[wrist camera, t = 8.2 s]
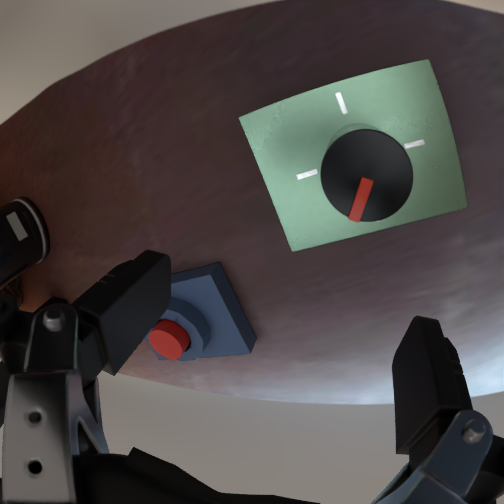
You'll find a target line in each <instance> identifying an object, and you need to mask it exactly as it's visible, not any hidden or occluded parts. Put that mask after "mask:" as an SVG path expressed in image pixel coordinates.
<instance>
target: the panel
mask: <svg viewBox="0 0 504 504" xmlns="http://www.w3.org/2000/svg"><path fill="white" fill-rule="evenodd" d="M238 119H239V121H240V123H241V126H242V128H243V130H244V133H245V135H246V138H247V140H248V142H249V145H250V147H251V150H252V152H253V155H254V157H255V159H256V162H257V164H258V167H259V169H260V172H261V174H262V177H263V179H264V182H265V184H266V187H267V189H268V192H269V194H270V197H271V199H272V202H273V204H274V207H275V210H276V212H277V215H278V217H279V220H280V222H281V225H282V228H283V230H284V233H285V236H286V238H287V241H288V243H289V246H290V249H291V251H292V252H295V251H299V250H304V249H308V248H312V247H316V246H320V245H324V244H328V243H332V242H336V241H339V240H343V239H347V238H351V237H355V236H359V235H363V234H367V233H371V232H375V231H379V230H383V229H387V228H391V227H395V226H398V225H402V224H406V223H410V222H414V221H418V220H422V219H426V218H429V217H433V216H437V215H441V214H445V213H449V212H452V211H456V210H460V209H464V208H467V207H468V206H467V199H466V193H465V187H464V181H463V176H462V170H461V165H460V161H459V156H458V152H457V147H456V143H455V139H454V135H453V131H452V127H451V124H450V120H449V117H448V113H447V110H446V107H445V103H444V100H443V97H442V94H441V91H440V88H439V85H438V82H437V79H436V77H435V74H434V71H433V69H432V66H431V63H430V61H429V59H423V60H418V61H414V62H409V63H404V64H400V65H396V66H391V67H387V68H383V69H379V70H375V71H371V72H368V73H364V74H360V75H357V76H353V77H350V78H346V79H343V80H340V81H336V82H333V83H330V84H327V85H324V86H321V87H317V88H314V89H311V90H308V91H306V92H303V93H300V94H297V95H294V96H291V97H289V98H286V99H283V100H280V101H278V102H275V103H272V104H270V105H267V106H265V107H262V108H260V109H257V110H255V111H252V112H250V113H247V114H245V115H243V116H240V117H238ZM355 123H363V124H368V125H372V126H374V127H376V128H378V129H379V130H381V131H383V132H385V133H386V134H388V135H390V136H391V137H393V138H394V139H395V140H397V141H398V142H399V143H400V144H401V145H402V146H403V148H404V149H405V151H406V152H407V154H408V156H409V158H410V160H411V163H412V167H413V186H412V190H411V193H410V195H409V198H408V199H407V201H406V203H405V204H404V205H403V207H402V208H401V209H400V210H399V211H397V212H396V213H395V214H393V215H392V216H390V217H388V218H386V219H383V220H380V221H375V222H362V221H360V222H359V223H357V222H354V221H352V220H349V219H348V217H346V216H344V215H343V214H341V213H340V212H339V211H337V210H336V209H335V208H334V207H333V206H332V205H331V203H330V202H329V201H328V199H327V197H326V196H325V193H324V191H323V188H322V185H321V178H320V170H321V164H322V160H323V157H324V154H325V152H326V149H327V146H328V144H329V142H330V140H331V138H332V137H333V135H334V134H335V133H336V132H337V131H338V130H340V129H341V128H343V127H345V126H347V125H350V124H355Z"/></svg>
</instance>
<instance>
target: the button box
mask: <svg viewBox="0 0 504 504" xmlns="http://www.w3.org/2000/svg"><path fill="white" fill-rule="evenodd" d="M162 319H169V320H172V321H175V322H177V323H178V324H179V325H181V326H182V327H183V328H184V329H186V331H187V333H188V334H189V336H190V343H189V345H188V347H187V348H186V350H185V351H184V353H183V354H182V356H181V357H180V358H178V359H177V360H180V361H189V360H195V359H196V358H203V357H218V356H230V355H242V354H251V352H252V349H253V347H254V344H255V342H256V337H255V335H254V333H253V331H252V329H251V327H250V325H249V323H248V321H247V318H246V316H245V314H244V312H243V310H242V308H241V306H240V304H239V302H238V300H237V298H236V296H235V294H234V292H233V290H232V288H231V285H230V283H229V281H228V279H227V277H226V275H225V273H224V271H223V269H222V266H221V264H220V263H215V264H212V265H208V266H204V267H200V268H196V269H192V270H188V271H184V272H180V273H176V274H172V275H171V300H170V303H169V306H168V308H167V310H166V312H165V313H164V314H163V315H162V317H161V318H160V319H159V320H158V322H159V321H160V320H162ZM158 322H157V323H158ZM157 323H156V324H157ZM156 324H155V325H154V327H155V326H156ZM154 327H153V328H154ZM153 328H152V329H153ZM152 329H151V330H150V332H151V331H152ZM150 332H149V333H150ZM149 333H148V334H147V335H146V337H145V340H146V341H147V343H148V344H149V346H150V347H151V349H152V350H153V352H154V353H155V355H156V356H157V357H158V359H159V360H161V359H169V358H166V357H164V356H162V355H160V354H159V353H158V352H156V351H155V350H154V349H153V347H152V346H151V344H150V342H149Z"/></svg>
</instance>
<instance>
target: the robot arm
mask: <svg viewBox="0 0 504 504" xmlns="http://www.w3.org/2000/svg"><path fill="white" fill-rule="evenodd" d="M48 251H49V240H48V234H47V230H46V227H45V224H44V222H43V219H42V217H41V215H40V213H39V212H38V210H37V209H36V207H35V206H34V205H33V204H32V203H31V202H30V201H29V200H28V199H26V198H23V197H19V198H17V199H14V200H12V201H11V202H10V203H8V204H6V205H4V206H2V207H0V290H1V289H2V288H3V287H5V286H6V285H7V284H9V283H10V282H11V281H13V280H14V279H15V283H14V288H15V289H17V287H18V283H19V276H20V275H21V274H22V273H24V272H25V271H27V270H28V269H30V268H31V267H32V266H34V265H35V264H38V263H40V262H41V261H42V260H44V259H45V258H46V257H47V255H48ZM170 300H171V260H170V257H169V255H167V254H163V253H159V252H156V251H152V250H145V251H144V252H143V253H142V254H140V255H139V256H138V257H137V258H135V259H134V260H129V261H127V262H124V263H122V264H119V265H117V266H116V267H115V268H113V269H112V270H111V271H110V272H108V273H107V275H105V276H104V277H102V278H101V279H100V280H99V282H96V283H95V284H94V285H93V286H92V287H90V288H89V289H88V290H87V291H86V292H85V293H83V294H82V295H81V296H80V297H79V298H78V299H76V300H75V301H74V302H73V303H72V304H71V305H68V304H63V303H56V304H51V305H48V306H46V307H44V308H42V309H41V310H39V311H38V312H37V313H31V312H26V311H21V310H20V308H19V305H18V302H17V300H16V298H15V297H14V296H13V295H10V294H0V358H1V359H2V361H1V362H0V428H1V426H2V425H3V424H4V431H3V447H2V478H0V504H320V503H315V502H308V501H302V500H296V499H290V498H285V497H281V496H276V495H247V494H230V493H221V492H218V491H216V490H214V489H212V488H210V487H208V486H207V485H205V484H204V483H202V482H201V481H198V480H197V479H196V478H194V477H193V476H191V475H189V474H188V473H186V472H185V471H183V470H182V469H180V468H179V467H178V466H176V465H174V464H171V463H169V462H166V461H164V460H161V459H159V458H157V457H155V456H152V455H150V454H147V453H145V452H143V451H141V450H139V449H137V448H135V447H133V448H132V450H131V451H130V453H129V455H128V456H127V455H121V454H110V453H109V449H108V445H107V442H106V439H105V436H104V432H103V427H102V418H101V409H100V398H99V384H98V378H97V375H98V374H99V373H100V372H101V371H102V370H103V371H105V372H107V373H109V374H111V375H113V376H115V374H116V373H117V372H118V371H119V369H120V368H121V367H122V366H123V364H124V363H125V362H126V361H127V359H128V358H129V357H130V355H131V354H132V353H133V352H134V350H135V349H136V348H137V347H138V345H139V344H140V343H141V342H142V340H143V339H144V338H145V337H146V335H147V334H148V333H149V332H150V330H151V329H152V328H153V327H154V325H155V324H156V323H157V322H158V320H159V319H160V318H161V317H162V315H163V314H164V313H165V312H166V310H167V308H168V306H169V303H170ZM392 374H393V387H394V403H395V423H396V424H395V425H396V454H407V455H409V462H408V463H407V464H406V465H405V466H404V467H403V468H402V469H401V471H400V472H399V473H398V474H397V475H396V477H395V478H394V479H393V480H392V481H391V482H390V483H389V485H388V486H387V487H386V488H385V489H384V490H383V491H382V492H381V493H380V495H378V497H377V498H376V499H375V500H374V501H373V502H372V503H371V504H496V499H497V498H498V497H500V496H502V495H503V494H504V438H501V437H498V436H496V435H493V430H492V427H491V425H490V423H489V421H488V420H487V419H486V418H485V416H483V415H482V414H481V413H479V412H477V411H475V410H473V407H472V403H471V399H470V395H469V391H468V388H467V384H466V380H465V377H464V375H463V370H462V366H461V364H460V360H459V357H458V353H457V350H456V349H455V347H454V346H453V344H452V343H451V342H450V340H449V339H448V338H446V337H444V335H443V332H442V329H441V326H440V323H439V321H438V320H436V319H431V318H427V317H422V316H415V317H414V318H413V320H412V322H411V323H410V325H409V327H408V329H407V331H406V333H405V335H404V337H403V339H402V341H401V343H400V345H399V347H398V348H397V350H396V353H395V355H394V359H393V363H392Z"/></svg>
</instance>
